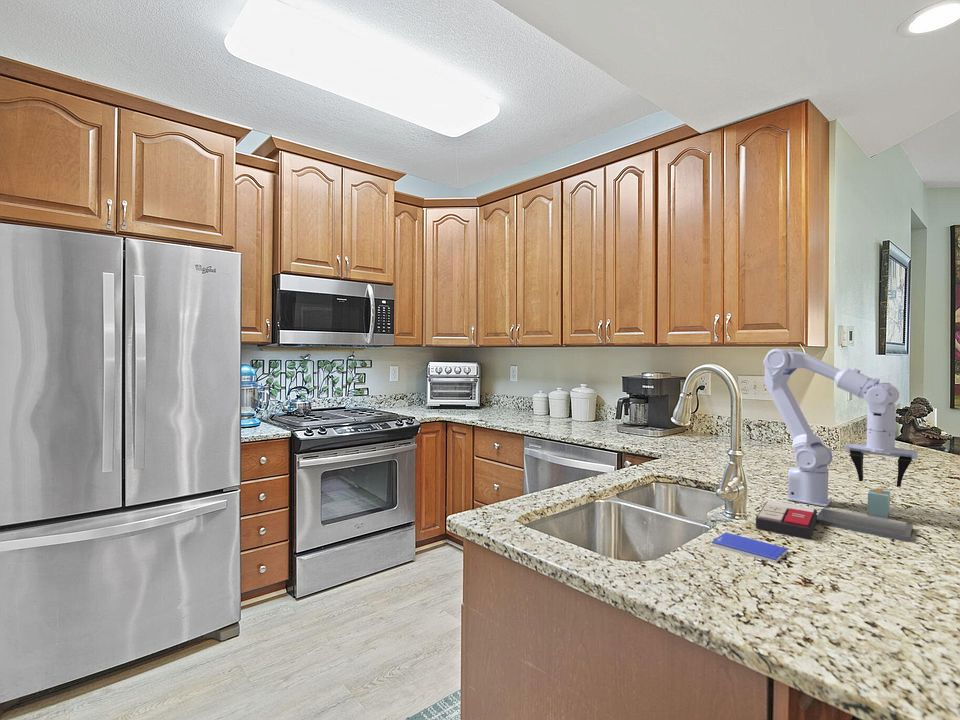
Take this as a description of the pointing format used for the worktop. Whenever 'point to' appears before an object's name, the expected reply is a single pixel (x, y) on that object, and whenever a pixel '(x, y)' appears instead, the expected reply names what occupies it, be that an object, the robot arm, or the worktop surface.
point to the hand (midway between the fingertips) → (879, 483)
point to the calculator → (787, 519)
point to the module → (879, 503)
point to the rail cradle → (865, 524)
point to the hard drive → (750, 547)
